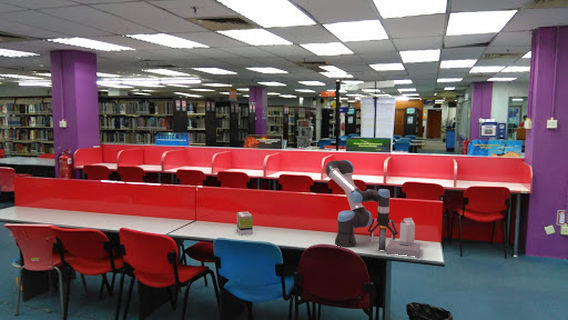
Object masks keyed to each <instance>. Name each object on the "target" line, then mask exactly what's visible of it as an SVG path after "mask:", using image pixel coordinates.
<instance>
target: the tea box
mask: <svg viewBox="0 0 568 320" xmlns="http://www.w3.org/2000/svg"><path fill="white" fill-rule="evenodd" d="M253 219H254V218H253V215H252V214H251V212H249V211H239V212H237V211H236V230H237V232H238V233H239V235H240V236H244V235H252V234H253V231H254V230H253V223H254V222H253Z"/></svg>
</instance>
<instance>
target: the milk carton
mask: <svg viewBox="0 0 568 320" xmlns="http://www.w3.org/2000/svg"><path fill="white" fill-rule="evenodd" d="M399 228H400V229H399V230H400V231H399V233H400V234H399V241H402V242H411V243H415V234H416V233H415V231H416V224H415V222H414V220H413V217H406V218H403V220H402V221H401V222H400V226H399Z"/></svg>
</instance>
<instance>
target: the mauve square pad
mask: <svg viewBox="0 0 568 320" xmlns="http://www.w3.org/2000/svg"><path fill="white" fill-rule="evenodd" d="M420 245H421V243H419V242H414V243H411V242H402V241H400V240H393V244H392V239H390V240H389V242H388V245H387V247H386V254H387V253H388V254H387V255H389V254H398V255H407V256H415V257H419V258H420V251H419V250H420V248H421V246H420Z"/></svg>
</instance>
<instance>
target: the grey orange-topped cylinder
mask: <svg viewBox="0 0 568 320" xmlns="http://www.w3.org/2000/svg"><path fill="white" fill-rule="evenodd" d="M377 228H379V233H378V234H379V235H378V251H379V250H385V251H386V242H387V229H388V227H387V226H382V225H379V226H378V227H377Z"/></svg>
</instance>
